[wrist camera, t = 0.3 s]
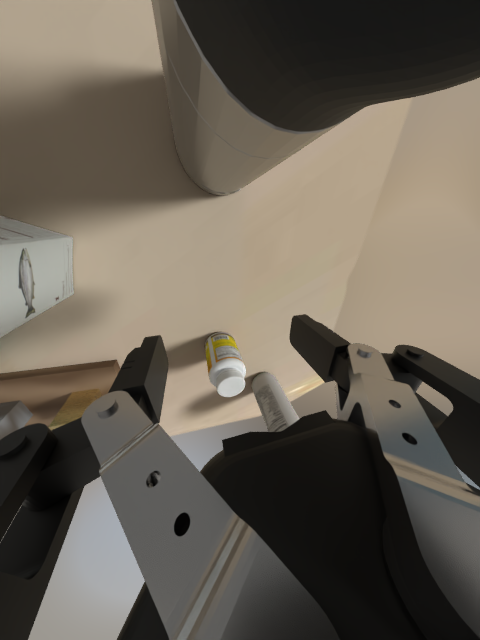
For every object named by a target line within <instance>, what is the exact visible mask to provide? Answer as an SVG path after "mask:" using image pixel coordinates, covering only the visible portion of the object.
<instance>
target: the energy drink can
mask: <svg viewBox="0 0 480 640" xmlns="http://www.w3.org/2000/svg"><path fill="white" fill-rule="evenodd" d="M252 390H253V392H254V395H255V397H256V400H257V403H258V405H259V408H260V410H261V413H262V416H263V418H264V421H265V423H266V426H267V429H268V431H269V432H280V431H283V430H284V429H286V428H287V427H289V426H290V425H292V424H293V423H295V422H296V421H297V420H299V417H298V416H297V414H296V412H295V410H294V409H293V407H292V405H291V403H290V402H289V400H288V398H287V396H286V394H285V393H284V391H283V389H282V387H281V386H280V384H279V382H278V380H277V379H276V377H275V376H274V375H273V374H270V373H268V372H263V373H260V374H258V375H257V376H256V377H255V378H254V379H253V383H252Z"/></svg>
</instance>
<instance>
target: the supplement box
mask: <svg viewBox="0 0 480 640" xmlns="http://www.w3.org/2000/svg"><path fill="white" fill-rule="evenodd" d="M72 249H73V237H71V236H68V235H64V234H61V233H57V232H54V231H51V230H47V229H44V228H41V227H37V226H34V225H31V224H27V223H24V222H21V221H17V220H14V219H11V218H7V217H4V216H1V215H0V338H1V337H2V336H4V335H6V334H7V333H9V332H11V331H12V330H14V329H16V328H17V327H19V326H21V325H22V324H24V323H26V322H28V321H29V320H31V319H33V318H34V317H36V316H38V315H39V314H41V313H43V312H44V311H46V310H48V309H49V308H51V307H53V306H54V305H56V304H58V303H60V302H61V301H63V300H65V299H66V298H68V297H70V296H71V295H73V294H74V289H73V273H72Z"/></svg>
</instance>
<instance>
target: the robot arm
mask: <svg viewBox="0 0 480 640" xmlns="http://www.w3.org/2000/svg"><path fill="white" fill-rule="evenodd" d="M151 1H152V7H153V13H154V19H155V25H156V31H157V37H158V43H159V49H160V55H161V61H162V68H163V74H164V80H165V86H166V92H167V98H168V104H169V110H170V116H171V123H172V129H173V135H174V141H175V145H176V149H177V153H178V156H179V159H180V161H181V163H182V166H183V167H184V169H185V171H186V172H187V174H188V176H189V177H190V178H191V179H192V180H193V181H194V182H195V184H197V185H198V186H199V187H200V188H202V189H203V190H205V191H207V192H209V193H211V194H215V195H229V194H232V193H235V192H237V191H239V190H240V189H241V188H243V187H244V186H246V185H248V184H249V183H251V182H252V181H254V180H255V179H257V178H258V177H260V176H261V175H263V174H264V173H266V172H268V171H269V170H271V169H272V168H274V167H275V166H277V165H278V164H280V163H281V162H283V161H284V160H286V159H287V158H289V157H290V156H292V155H293V154H295V153H296V152H298V151H299V150H301V149H302V148H304V147H305V146H307V145H308V144H310V143H311V142H313V141H314V140H316V139H317V138H319V137H320V136H322V135H323V134H325V133H326V132H328V131H329V130H331V129H332V128H334V127H335V126H337V125H338V124H340V123H341V122H343V121H344V120H345V119H347V118H349V117H350V116H352V115H353V114H355V113H356V112H358V111H359V110H361V109H363V108H364V107H366V106H369V105H373V104H378V103H383V102H388V101H394V100H399V99H405V98H411V97H416V96H420V95H425V94H429V93H432V92H436V91H440V90H444V89H447V88H450V87H453V86H456V85H459V84H462V83H465V82H468V81H471V80H474V79H477V78H479V77H480V0H151ZM290 342H291V345H292V346H293V347H294V348H295V349H296V350H297V352H298V353H299V354H300V355H301V356H302V357H303V358H304V359H305V360H306V362H307V363H308V364H309V365H310V366H311V367H312V368H313V369H314V370H315V372H316V373H317V374H318V375H319V376H320V377H321V378H322V379H323V380H324V382H325V383H326V382H330V381H333V380H335V381H336V385H335V394H336V405H337V419H332V418H331V417H330V415H329V414H328V413H327V411H326V410H325V411H322V412H318V413H314V414H311V415H307V416H304V417H302V418H300V419H299V420H297V421H296V422H295V423H293V424H292V425H290V426H289V427H287V428H286V429H284V430H283V431H280V432H249V433H245V434H242V435H238V436H235V437H231V438H228V439H224V440H222V442H223V450H222V451H221V452H219V453H218V454H216V455H215V456H214V457H213V458H212V459H211V460H210V461H209V462H208V463H207V464H206V465H205V466H204V467H203V469H202V470H201V471H200V472H199V471H198V469H197V468H196V467H195V466H194V465H193V464H192V463H191V461H190V460H189V459H188V458H187V457H186V455H185V454H184V453H183V452H182V451H181V450H180V448H179V447H178V446H177V445H176V444H175V443H174V441H173V440H172V439H171V438H170V437H169V435H168V434H167V433H166V432H165V431H164V430H163V428H162V427H161V426H160V425H159V424H158V423H159V422H160V416H161V410H162V403H163V397H164V391H165V385H166V379H167V373H168V358H167V354H166V351H165V347H164V344H163V340H162V337H161V336H160V335H158V336H151V337H145V338H144V340H143V343H142V345H141V347H139V348H135V349H134V350H132V351H131V352H130V353H129V354H128V355H127V357H126V359H125V361H124V364H123V365H122V367H121V370H120V371H119V373H118V375H117V377H116V378H115V380H114V382H113V384H112V386H111V388H110V390H109V392H108V394H105V395H103V396H101V397H100V398H98V399H97V400H95V401H94V402H93V403H92V404H90V405H89V406H88V408H87V409H86V410H85V411H84V413H83V415H82V417H80V418H78V419H76V420H74V421H72V422H69V423H67V424H65V425H62V426H60V427H58V428H56V429H53V430H50V429H49V428H48V427H47V426H46V425H45V424H42V423H36V424H31V425H28V426H25V427H22V428H20V429H18V430H16V431H14V432H12V433H10V434H8V435H7V436H5V437H4V438H2V439H1V440H0V542H1V543H0V640H28V638H29V635H30V632H31V629H32V627H33V624H34V621H35V618H36V616H37V613H38V611H39V608H40V605H41V602H42V600H43V597H44V594H45V591H46V589H47V586H48V583H49V580H50V578H51V575H52V572H53V570H54V567H55V564H56V562H57V559H58V556H59V553H60V551H61V548H62V545H63V543H64V540H65V537H66V534H67V532H68V529H69V526H70V524H71V521H72V518H73V515H74V513H75V510H76V507H77V505H78V502H79V499H80V496H81V494H82V491H83V488H84V486H85V485H86V484H88V483H90V482H91V481H93V480H95V479H96V478H98V477H100V476H101V478H102V480H103V483H104V485H105V487H106V490H107V492H108V495H109V497H110V500H111V502H112V504H113V507H114V509H115V511H116V514H117V516H118V518H119V520H120V523H121V525H122V528H123V530H124V532H125V535H126V537H127V539H128V542H129V544H130V547H131V549H132V551H133V554H134V556H135V558H136V560H137V563H138V565H139V568H140V570H141V572H142V575H143V577H144V579H145V582H144V584H143V587H142V589H141V591H140V593H139V595H138V597H137V599H136V601H135V603H134V605H133V607H132V609H131V611H130V613H129V615H128V617H127V619H126V622H125V624H124V626H123V628H122V630H121V632H120V634H119V636H118V638H117V640H480V490H479V489H477V488H475V487H473V486H471V485H469V484H467V483H466V482H465V481H464V480H463V478H462V476H461V474H460V473H459V471H458V470H457V467H458V468H459V469H460V470H461V471H462V472H463V473H464V474H466V475H467V476H468V477H469V478H470V479H471V480H472V481H473V482H474V483H475V484H476V485H477V486H479V487H480V380H479V379H477V378H475V377H473V376H471V375H470V374H468V373H466V372H464V371H462V370H460V369H458V368H456V367H454V366H453V365H451V364H449V363H447V362H445V361H443V360H441V359H439V358H437V357H436V356H434V355H432V354H430V353H428V352H426V351H424V350H422V349H419V348H417V347H413V346H409V345H398V346H396V347H395V350H394V351H393V354H387V353H380V352H379V351H378V350H376V349H375V348H373V347H370V346H368V345H365V344H360V343H355V344H350V343H349V342H348V341H346V340H345V339H343V338H342V337H340V336H339V335H337V334H336V333H333V331H332V330H330V329H328V328H327V327H326V326H324V325H323V324H321V323H319V322H316V321H314V320H313V319H312V318H310V317H309V316H307V315H305V314H304V315H297V316H293V318H292V322H291V330H290ZM422 381H423V382H425V383H426V384H428V385H429V386H430V387H432V388H433V389H435V390H436V391H438V392H439V393H441V394H442V395H444V396H445V397H447V398H448V399H449V400H450V401H451V403H452V404H453V411H452V413H451V414H450V415H449V416H446V415H445V414H444V413H443V412H441V411H440V410H439V409H437V408H436V407H435V406H433V405H432V404H431V403H429V402H428V401H426V400H425V399H424V398H423V397H421V396H420V395H419V394H417V393H416V390H417V389H418V387H419V386H420V384H421V383H422ZM455 465H456V466H457V467H456V466H455ZM21 505H22V506H21ZM20 507H21V508H20ZM19 508H20V509H19ZM18 510H19V511H18ZM17 512H18V513H17ZM16 514H17V515H16ZM15 515H16V516H15ZM14 517H15V518H14ZM13 519H14V520H13ZM12 521H13V522H12ZM11 522H12V523H11ZM10 524H11V525H10ZM9 526H10V527H9ZM8 527H9V529H8ZM7 529H8V530H7ZM6 531H7V532H6ZM5 533H6V534H5ZM4 535H5V536H4ZM3 536H4V538H3ZM2 538H3V539H2ZM1 540H2V541H1Z"/></svg>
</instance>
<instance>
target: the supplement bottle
mask: <svg viewBox="0 0 480 640" xmlns="http://www.w3.org/2000/svg"><path fill="white" fill-rule="evenodd" d="M205 352H206V359H207V366H208V373H209V379H210V382H211V383H212V384H213V385H214V386H216V388H217V392H218V393H219V395H221V396H223V397H232V396H235V395H237V394H239V393H240V392H242V391H243V389H244V387H245V380H244V377H245V374H246V368H245V365H244V363H243V360H242V358H241V355H240V353H239V350H238V348H237V345H236V343H235V340H234V338H233V337H232V336H231V335H230V334H228V333H225V332H218V333H215V334H213V335H211V336H210V337H209V338H208V339H207V341H206V343H205Z"/></svg>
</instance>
